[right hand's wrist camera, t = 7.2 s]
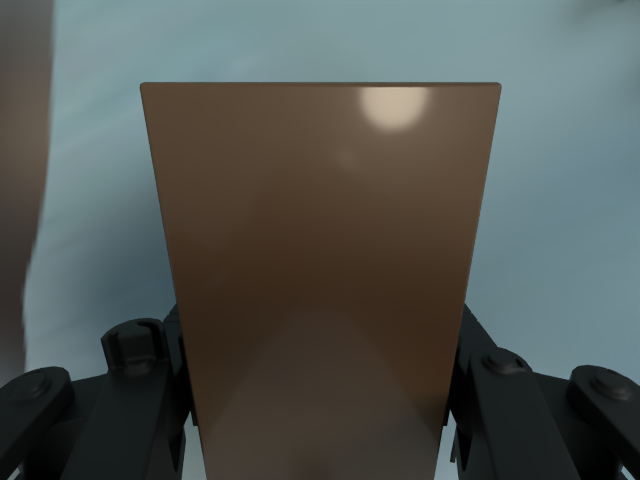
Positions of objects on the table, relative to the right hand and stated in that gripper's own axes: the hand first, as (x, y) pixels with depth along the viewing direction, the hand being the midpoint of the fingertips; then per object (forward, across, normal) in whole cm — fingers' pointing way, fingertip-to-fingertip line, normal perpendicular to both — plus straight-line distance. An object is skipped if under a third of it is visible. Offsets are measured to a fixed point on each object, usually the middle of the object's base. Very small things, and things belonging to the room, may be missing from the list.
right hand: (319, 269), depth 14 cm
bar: (+1, 0, -34) cm, 34 cm away
